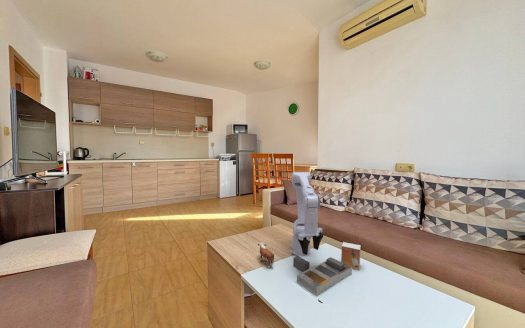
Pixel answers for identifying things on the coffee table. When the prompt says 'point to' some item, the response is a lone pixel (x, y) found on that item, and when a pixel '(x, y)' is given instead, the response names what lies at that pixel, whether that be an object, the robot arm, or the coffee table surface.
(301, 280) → the rack
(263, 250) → the bull figurine
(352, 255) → the small box
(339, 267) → the dark grey rectangular block
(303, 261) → the dark grey block piece
